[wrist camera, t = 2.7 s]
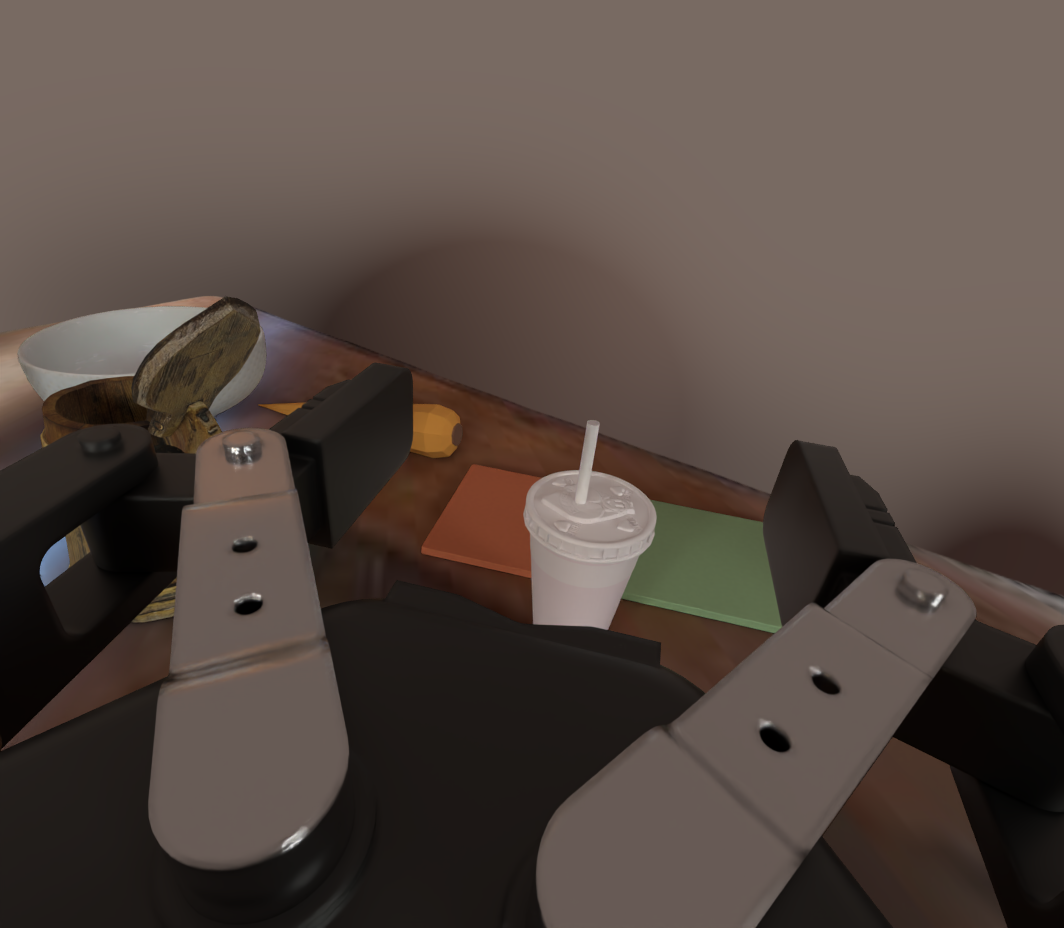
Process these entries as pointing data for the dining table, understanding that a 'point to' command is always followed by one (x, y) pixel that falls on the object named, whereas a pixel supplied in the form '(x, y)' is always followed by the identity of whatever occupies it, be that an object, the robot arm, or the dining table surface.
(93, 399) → the wooden mug
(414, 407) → the carrot
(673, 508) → the green mat
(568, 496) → the smoothie
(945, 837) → the dining table surface
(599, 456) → the dining table surface
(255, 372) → the cereal bowl
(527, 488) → the terracotta mat
